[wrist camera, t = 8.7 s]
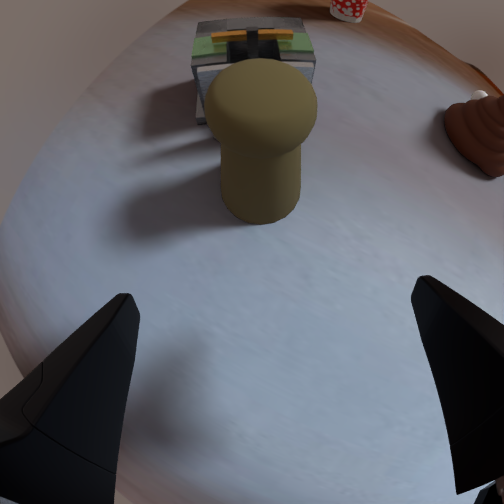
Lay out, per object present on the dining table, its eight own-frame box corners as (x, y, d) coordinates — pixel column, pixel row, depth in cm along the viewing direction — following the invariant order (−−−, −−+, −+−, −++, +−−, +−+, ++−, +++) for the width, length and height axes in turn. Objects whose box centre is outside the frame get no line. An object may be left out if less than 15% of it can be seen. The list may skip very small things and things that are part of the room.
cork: (204, 195, 21) (159, 97, 10) (252, 140, 21) (246, 30, 11) (270, 240, 20) (281, 164, 9) (315, 179, 21) (355, 77, 10)
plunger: (300, 135, 21) (315, 62, 13) (214, 139, 21) (195, 67, 13) (293, 96, 22) (302, 27, 14) (215, 100, 22) (201, 31, 14)
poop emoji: (438, 146, 21) (488, 92, 12) (441, 98, 23) (476, 48, 14) (501, 194, 20) (555, 161, 11) (499, 142, 22) (539, 106, 12)
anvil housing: (313, 119, 22) (328, 59, 15) (197, 124, 22) (178, 65, 15) (301, 72, 23) (310, 16, 16) (201, 77, 23) (188, 22, 16)
